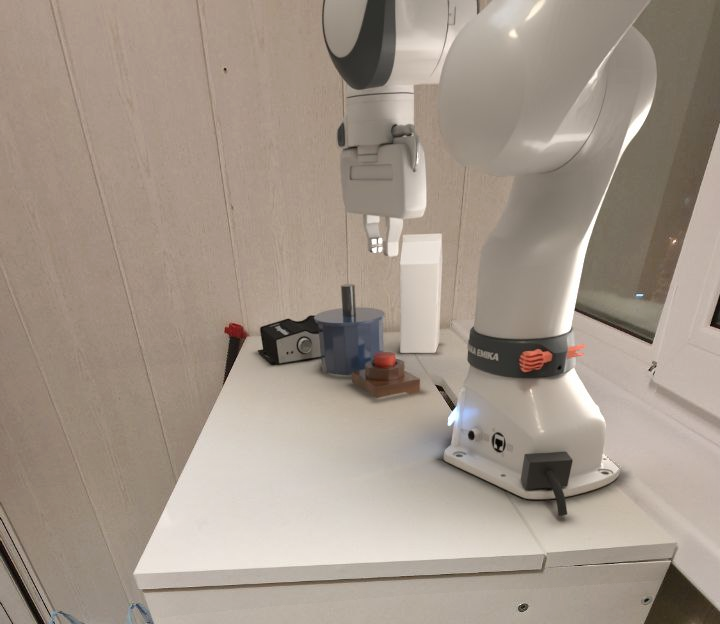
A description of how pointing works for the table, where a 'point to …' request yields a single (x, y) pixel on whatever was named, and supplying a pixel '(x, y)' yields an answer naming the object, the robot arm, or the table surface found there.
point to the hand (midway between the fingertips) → (382, 254)
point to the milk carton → (420, 292)
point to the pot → (349, 346)
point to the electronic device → (291, 341)
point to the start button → (384, 359)
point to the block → (386, 379)
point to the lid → (349, 311)
